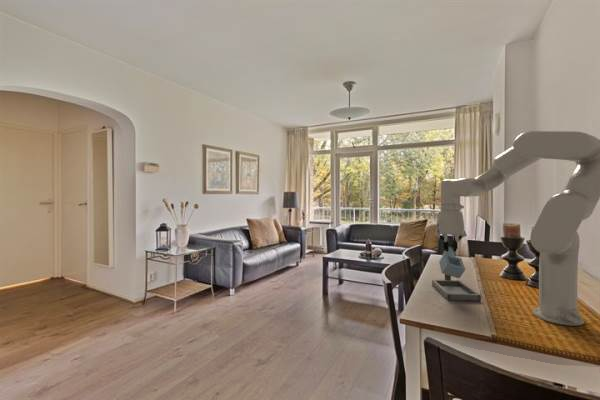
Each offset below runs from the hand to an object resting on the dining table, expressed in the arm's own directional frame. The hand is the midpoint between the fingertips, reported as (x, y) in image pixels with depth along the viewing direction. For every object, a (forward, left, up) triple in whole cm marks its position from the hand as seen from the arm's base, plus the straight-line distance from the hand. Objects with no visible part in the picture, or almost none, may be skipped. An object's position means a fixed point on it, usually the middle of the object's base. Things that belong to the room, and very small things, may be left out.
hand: (450, 250), depth 125 cm
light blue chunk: (-2, +2, -6) cm, 7 cm away
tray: (-4, 0, -17) cm, 17 cm away
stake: (+12, -3, -17) cm, 21 cm away
